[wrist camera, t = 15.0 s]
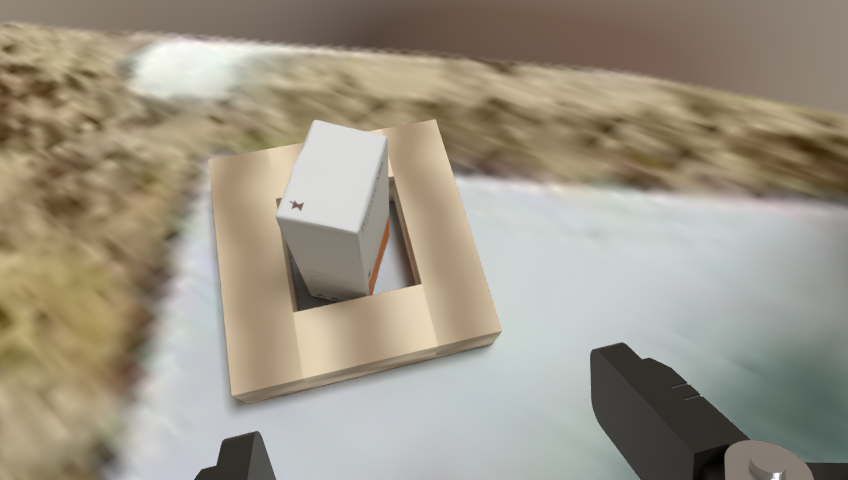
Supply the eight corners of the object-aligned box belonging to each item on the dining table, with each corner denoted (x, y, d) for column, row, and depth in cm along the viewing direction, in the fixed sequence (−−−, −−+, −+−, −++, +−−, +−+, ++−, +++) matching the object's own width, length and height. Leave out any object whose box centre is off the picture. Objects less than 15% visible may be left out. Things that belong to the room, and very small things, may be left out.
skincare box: (370, 311, 35) (357, 237, 24) (309, 296, 35) (269, 217, 24) (392, 232, 37) (390, 133, 27) (335, 219, 38) (310, 116, 27)
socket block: (432, 147, 41) (435, 119, 37) (492, 344, 34) (502, 330, 31) (224, 185, 38) (208, 159, 35) (248, 403, 32) (231, 395, 29)
